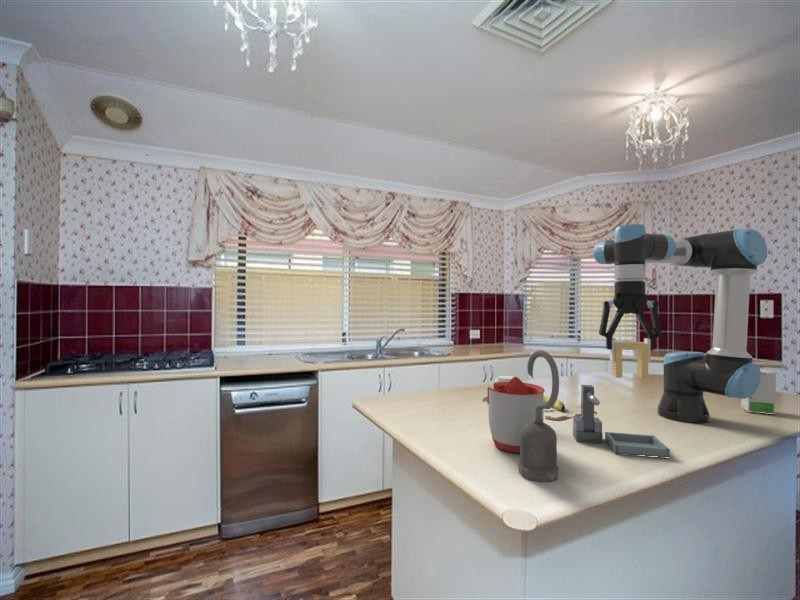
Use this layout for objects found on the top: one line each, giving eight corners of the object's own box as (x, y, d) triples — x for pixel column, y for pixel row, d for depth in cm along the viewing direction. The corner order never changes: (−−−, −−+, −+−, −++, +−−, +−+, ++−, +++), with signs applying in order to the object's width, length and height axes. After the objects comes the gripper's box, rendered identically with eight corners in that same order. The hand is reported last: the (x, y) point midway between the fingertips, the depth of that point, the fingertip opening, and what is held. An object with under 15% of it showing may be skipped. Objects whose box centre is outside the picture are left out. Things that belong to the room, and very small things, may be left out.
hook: (538, 489, 89) (539, 354, 88) (508, 467, 100) (509, 347, 100) (575, 483, 92) (576, 352, 91) (542, 462, 103) (543, 346, 103)
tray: (654, 444, 116) (654, 435, 116) (669, 459, 106) (669, 449, 106) (605, 440, 119) (605, 431, 119) (615, 454, 109) (615, 445, 109)
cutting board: (609, 414, 147) (609, 404, 147) (553, 424, 135) (553, 413, 135) (539, 393, 179) (539, 385, 178) (489, 400, 167) (489, 391, 167)
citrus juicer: (491, 432, 126) (491, 369, 126) (549, 442, 117) (549, 374, 117) (473, 448, 112) (474, 377, 112) (538, 461, 104) (538, 384, 103)
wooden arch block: (643, 375, 113) (643, 341, 113) (648, 378, 110) (648, 343, 109) (612, 374, 115) (612, 341, 115) (616, 377, 112) (615, 343, 111)
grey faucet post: (597, 436, 122) (597, 384, 122) (610, 455, 108) (610, 396, 108) (572, 434, 124) (573, 383, 124) (582, 452, 110) (582, 394, 110)
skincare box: (747, 412, 148) (747, 370, 148) (740, 408, 154) (740, 367, 154) (776, 415, 145) (777, 372, 145) (767, 410, 151) (768, 369, 151)
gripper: (666, 280, 113) (666, 360, 113) (586, 281, 118) (586, 358, 119) (677, 279, 106) (677, 365, 106) (591, 280, 111) (592, 362, 111)
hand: (629, 361), depth 112 cm, fingers closed on wooden arch block, 8 cm apart
